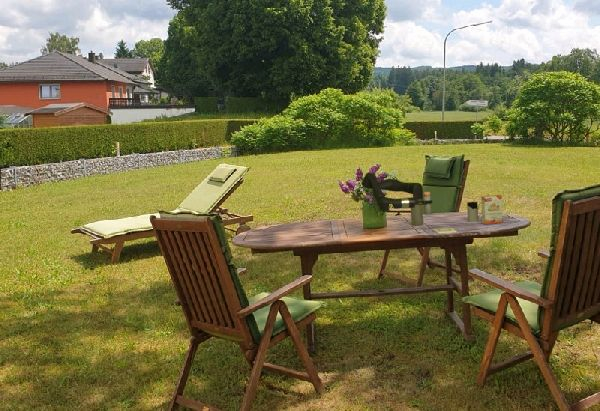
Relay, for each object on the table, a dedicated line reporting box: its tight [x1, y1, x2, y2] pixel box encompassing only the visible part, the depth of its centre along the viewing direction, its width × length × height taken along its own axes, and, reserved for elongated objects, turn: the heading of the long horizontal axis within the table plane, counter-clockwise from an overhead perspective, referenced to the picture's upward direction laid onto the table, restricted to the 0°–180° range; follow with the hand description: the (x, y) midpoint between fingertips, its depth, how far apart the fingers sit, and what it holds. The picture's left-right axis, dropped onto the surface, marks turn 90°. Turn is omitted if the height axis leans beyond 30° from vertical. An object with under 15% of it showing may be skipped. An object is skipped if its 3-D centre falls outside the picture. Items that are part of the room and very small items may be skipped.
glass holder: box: [466, 201, 482, 223], centre depth 460 cm, size 9×14×15 cm, turn 104°
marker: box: [423, 191, 432, 216], centre depth 422 cm, size 5×5×16 cm
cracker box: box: [480, 194, 503, 225], centre depth 443 cm, size 14×6×21 cm, turn 101°
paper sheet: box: [432, 227, 457, 234], centre depth 424 cm, size 16×13×1 cm
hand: (431, 201), depth 422 cm, fingers closed on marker, 4 cm apart
